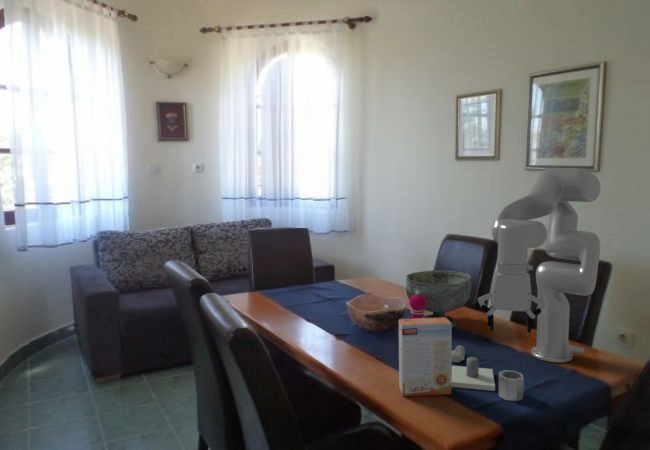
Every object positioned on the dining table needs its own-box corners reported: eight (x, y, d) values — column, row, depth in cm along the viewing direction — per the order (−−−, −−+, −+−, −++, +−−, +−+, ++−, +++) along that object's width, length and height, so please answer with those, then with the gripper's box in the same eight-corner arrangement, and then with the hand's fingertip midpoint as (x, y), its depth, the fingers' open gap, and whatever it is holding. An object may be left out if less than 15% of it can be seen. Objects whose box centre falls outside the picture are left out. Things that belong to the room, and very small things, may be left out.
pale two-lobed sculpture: (457, 368, 161) (443, 360, 164) (468, 360, 167) (455, 352, 170) (460, 357, 160) (447, 349, 163) (472, 349, 165) (459, 341, 169)
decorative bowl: (472, 336, 185) (472, 282, 183) (402, 332, 191) (401, 281, 190) (471, 317, 210) (470, 270, 209) (409, 314, 217) (408, 269, 215)
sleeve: (521, 391, 142) (521, 371, 141) (523, 402, 136) (524, 380, 135) (497, 389, 143) (498, 369, 142) (499, 399, 137) (500, 378, 136)
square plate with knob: (492, 373, 154) (492, 353, 153) (494, 391, 142) (495, 369, 142) (451, 370, 157) (452, 350, 156) (451, 386, 145) (451, 365, 145)
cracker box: (446, 385, 146) (447, 316, 143) (451, 395, 140) (453, 323, 137) (398, 387, 146) (398, 317, 143) (402, 397, 140) (402, 324, 137)
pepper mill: (427, 349, 174) (428, 293, 171) (406, 348, 175) (406, 292, 173) (427, 342, 181) (428, 288, 178) (407, 341, 182) (407, 287, 180)
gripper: (544, 267, 137) (542, 328, 139) (478, 264, 142) (476, 323, 144) (548, 273, 130) (546, 337, 132) (478, 270, 134) (477, 331, 136)
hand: (509, 329), depth 138 cm, fingers open, 9 cm apart
